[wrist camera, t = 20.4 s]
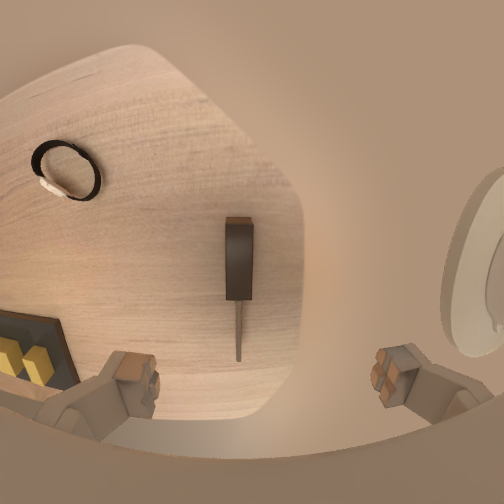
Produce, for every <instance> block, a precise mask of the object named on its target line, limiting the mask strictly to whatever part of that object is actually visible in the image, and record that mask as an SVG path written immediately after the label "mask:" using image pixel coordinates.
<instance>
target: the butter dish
mask: <svg viewBox="0 0 504 504" xmlns="http://www.w3.org/2000/svg"><path fill="white" fill-rule="evenodd" d="M0 337H4V338H7V339H11V340H15V341H18V343H19V346H20V348H21V351H22V353H23V356H25V355H26V354H27V352H28V351H29V350H30V349H31V348H32V347H33V346H34V345H35V346H40V347H44V348H46V350H47V352H48V355H49V358H50V361H51V363H52V366H53V368H54V371H55V372H54V373H53V375H52V376H51V377H50V379H49V380H48V382H47V383H46V385H45V386H48V387H52V388H55V389H59V390H63V391H65V390H67V389H69V388H71V387H73V386H75V385H77V384H79V383H80V380H79V378H78V375H77V372H76V370H75V367H74V364H73V362H72V359H71V356H70V353H69V350H68V347H67V344H66V341H65V338H64V335H63V332H62V328H61V325H60V321H59V319H53V318H45V317H38V316H31V315H25V314H19V313H13V312H7V311H1V310H0ZM17 377H18V378H21V379H24V380H27V381H31V379H30V377H29V374H28V372H27V370H26V368H25V367H24V368H23V369H22V370H21V372H20V373H19V374H18V375H17ZM31 382H32V381H31Z"/></svg>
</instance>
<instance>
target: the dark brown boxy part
mask: <svg viewBox="0 0 504 504" xmlns="http://www.w3.org/2000/svg"><path fill="white" fill-rule="evenodd" d="M253 230H254V224H253V222H252V219H251V217H227V218H226V230H225V243H226V300H236V359H237V362H241V304H242V301H241V300H252V273H253Z"/></svg>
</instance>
